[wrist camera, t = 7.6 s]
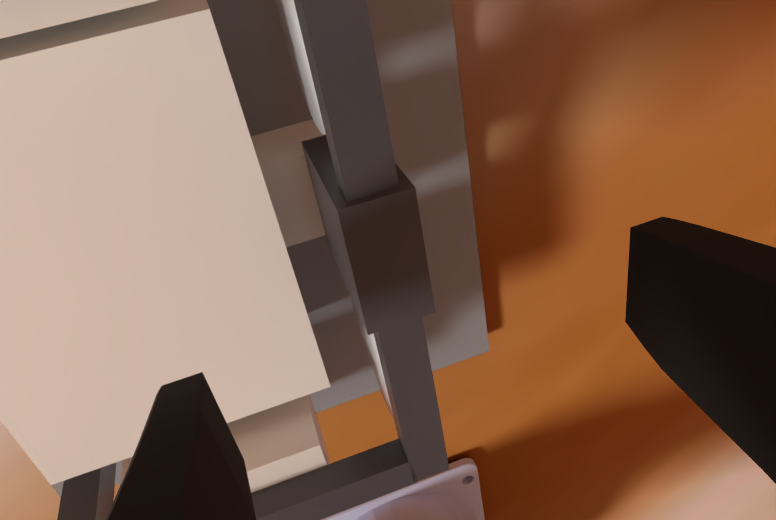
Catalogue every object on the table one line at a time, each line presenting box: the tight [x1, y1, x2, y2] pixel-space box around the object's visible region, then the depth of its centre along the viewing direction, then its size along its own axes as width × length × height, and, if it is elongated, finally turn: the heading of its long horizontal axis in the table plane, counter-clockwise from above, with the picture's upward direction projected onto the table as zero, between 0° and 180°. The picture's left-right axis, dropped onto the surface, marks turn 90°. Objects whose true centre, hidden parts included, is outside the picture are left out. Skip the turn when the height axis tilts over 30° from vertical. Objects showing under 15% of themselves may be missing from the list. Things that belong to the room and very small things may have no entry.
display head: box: [0, 0, 489, 497], centre depth 15 cm, size 15×18×6 cm
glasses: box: [57, 0, 449, 520], centre depth 13 cm, size 10×14×5 cm
